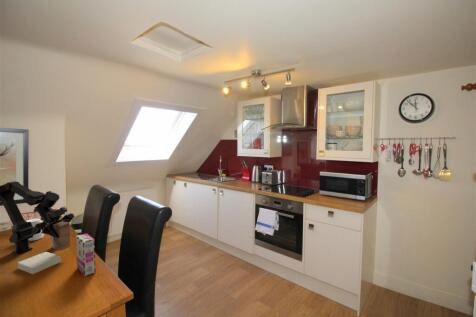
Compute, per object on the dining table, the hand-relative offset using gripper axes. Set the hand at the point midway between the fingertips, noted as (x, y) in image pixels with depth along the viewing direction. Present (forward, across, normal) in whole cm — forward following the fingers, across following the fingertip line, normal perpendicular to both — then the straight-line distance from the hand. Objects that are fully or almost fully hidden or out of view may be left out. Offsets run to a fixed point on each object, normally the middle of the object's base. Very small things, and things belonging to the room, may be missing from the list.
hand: (63, 235), depth 122 cm
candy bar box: (+23, -5, -6) cm, 25 cm away
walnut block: (+4, 0, +6) cm, 7 cm away
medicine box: (-3, +11, +21) cm, 24 cm away
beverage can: (-20, +13, +38) cm, 45 cm away
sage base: (+5, -8, +13) cm, 16 cm away
